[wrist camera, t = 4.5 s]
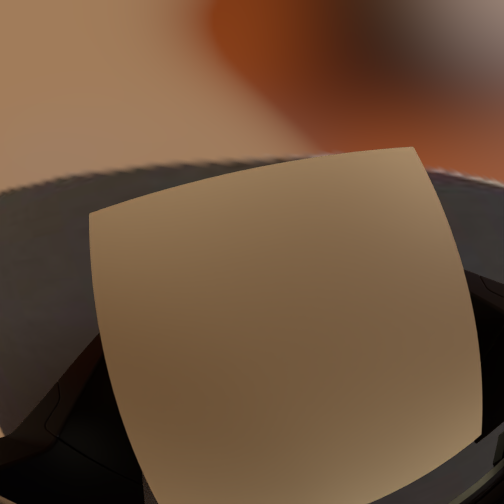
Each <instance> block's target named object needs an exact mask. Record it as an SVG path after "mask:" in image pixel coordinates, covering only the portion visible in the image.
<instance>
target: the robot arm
mask: <svg viewBox="0 0 504 504" xmlns="http://www.w3.org/2000/svg"><path fill="white" fill-rule="evenodd" d="M463 270H464V269H463ZM464 273H465V277H466V281H467V285H468V289H469V293H470V298H471V303H472V307H473V312H474V318H475V324H476V330H477V336H478V344H479V352H480V362H481V376H482V431H481V435H480V436H479V437H478V438H477V439H475V440H474V441H475V443H476V444H477V443H478V442H479V441H481V440H482V439H483V438H484V437H486V436H487V435H488V434H489V433H491V432H492V431H493V430H494V429H496V428H497V427H498V426H499V425H500V424H501V423H503V422H504V284H502V283H499V282H496V281H494V280H491V279H488V278H486V277H483V276H479V275H478V274H475V273H472V272H470V271H467V270H464ZM493 465H494V468H493V469H492V470H490V471H489V472H488V473H487V474H486V475H485V476H484V477H482V478H481V479H480V480H479V481H478V482H476V483H475V484H474V485H473V486H471V487H470V488H469V489H468V490H466V491H465V492H464V493H462V494H461V495H460V496H458V497H457V498H455V499H454V500H453V501H451V502H450V503H448V504H504V431H503V432H502V433H501V434H500V435H499V437H498V442H497V447H496V452H495V456H494V460H493ZM142 484H143V482H142V469H141V467H140V465H139V463H138V460H137V458H136V455H135V453H134V450H133V448H132V445H131V443H130V440H129V438H128V435H127V432H126V429H125V426H124V424H123V421H122V418H121V415H120V412H119V408H118V405H117V402H116V399H115V395H114V392H113V388H112V384H111V381H110V377H109V373H108V369H107V364H106V360H105V356H104V351H103V346H102V341H101V336H100V333H99V334H98V335H97V336H96V337H95V338H94V339H93V341H92V342H91V343H90V344H89V345H88V346H87V347H86V348H85V350H84V351H83V352H82V353H81V354H80V355H79V357H78V358H77V359H76V360H75V361H74V362H73V364H72V365H71V366H70V367H69V368H68V369H67V371H66V372H65V373H64V374H63V375H62V377H61V378H60V379H59V380H58V382H57V383H56V384H55V385H54V386H53V388H52V389H51V390H50V391H49V392H48V394H47V395H46V396H45V397H44V398H43V400H42V401H41V402H40V403H39V404H38V405H37V406H36V407H35V408H34V410H33V411H32V412H31V413H30V414H29V415H28V416H27V417H26V418H25V419H24V421H23V422H22V423H21V424H20V425H19V426H18V427H17V428H16V429H15V430H14V431H13V432H12V433H11V434H9V435H7V436H5V437H2V438H0V504H145V502H144V492H143V485H142Z"/></svg>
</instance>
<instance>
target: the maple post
mask: <svg viewBox="0 0 504 504" xmlns="http://www.w3.org/2000/svg"><path fill="white" fill-rule="evenodd" d="M89 234H90V255H91V269H92V280H93V289H94V298H95V305H96V312H97V319H98V325H99V330H100V336H101V341H102V346H103V351H104V356H105V360H106V364H107V369H108V373H109V377H110V381H111V384H112V388H113V392H114V395H115V399H116V402H117V405H118V408H119V412H120V415H121V418H122V421H123V424H124V426H125V429H126V432H127V435H128V438H129V440H130V443H131V445H132V448H133V450H134V453H135V455H136V458H137V460H138V463H139V465H140V467H141V469H142V472H143V474H144V476H145V478H146V480H147V482H148V484H149V486H150V488H151V491H152V492H153V494H154V496H155V498H156V500H157V502H158V504H368V503H371V502H373V501H375V500H377V499H380V498H382V497H384V496H386V495H388V494H390V493H392V492H394V491H396V490H398V489H400V488H402V487H404V486H406V485H408V484H410V483H412V482H413V481H415V480H417V479H419V478H420V477H422V476H424V475H425V474H427V473H429V472H430V471H432V470H434V469H435V468H437V467H438V466H440V465H441V464H443V463H444V462H446V461H447V460H449V459H450V458H452V457H453V456H454V455H456V454H457V453H459V452H460V451H461V450H463V449H464V448H465V447H467V446H468V445H469V444H470V443H472V442H473V441H474V440H475V439H477V438H478V437H479V436H480V435H481V431H482V376H481V362H480V352H479V344H478V336H477V330H476V324H475V318H474V312H473V307H472V303H471V298H470V293H469V289H468V285H467V281H466V277H465V273H464V270H463V266H462V263H461V259H460V256H459V253H458V250H457V247H456V244H455V241H454V238H453V235H452V232H451V229H450V226H449V224H448V221H447V218H446V216H445V213H444V211H443V208H442V206H441V203H440V201H439V199H438V196H437V194H436V192H435V190H434V187H433V185H432V183H431V181H430V179H429V177H428V175H427V173H426V170H425V168H424V166H423V164H422V163H421V161H420V159H419V157H418V155H417V153H416V151H415V149H414V147H404V148H391V149H381V150H370V151H360V152H352V153H343V154H336V155H328V156H321V157H315V158H308V159H302V160H296V161H290V162H284V163H279V164H273V165H268V166H263V167H258V168H253V169H248V170H243V171H238V172H234V173H229V174H225V175H221V176H216V177H212V178H208V179H204V180H200V181H196V182H192V183H188V184H184V185H180V186H177V187H173V188H169V189H166V190H162V191H159V192H155V193H152V194H148V195H145V196H142V197H138V198H135V199H132V200H129V201H125V202H122V203H119V204H116V205H113V206H110V207H107V208H104V209H101V210H98V211H95V212H93V213H90V214H89Z"/></svg>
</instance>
